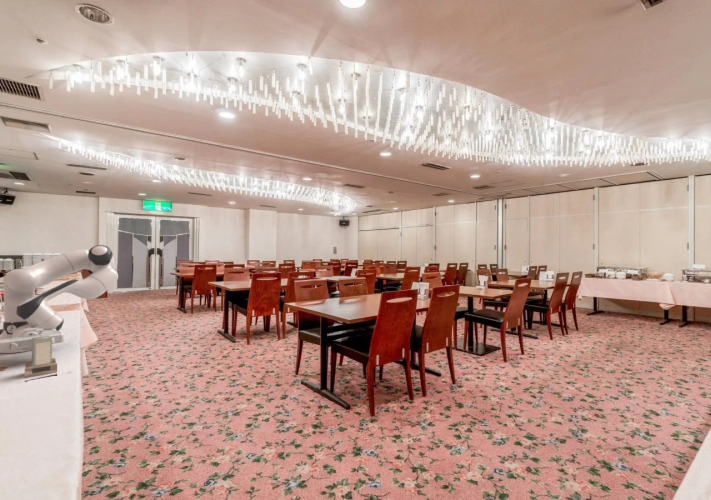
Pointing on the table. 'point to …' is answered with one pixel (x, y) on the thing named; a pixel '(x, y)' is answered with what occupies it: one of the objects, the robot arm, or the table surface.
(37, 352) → the tea tin
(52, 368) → the shelf board
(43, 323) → the robot arm
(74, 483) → the table surface
